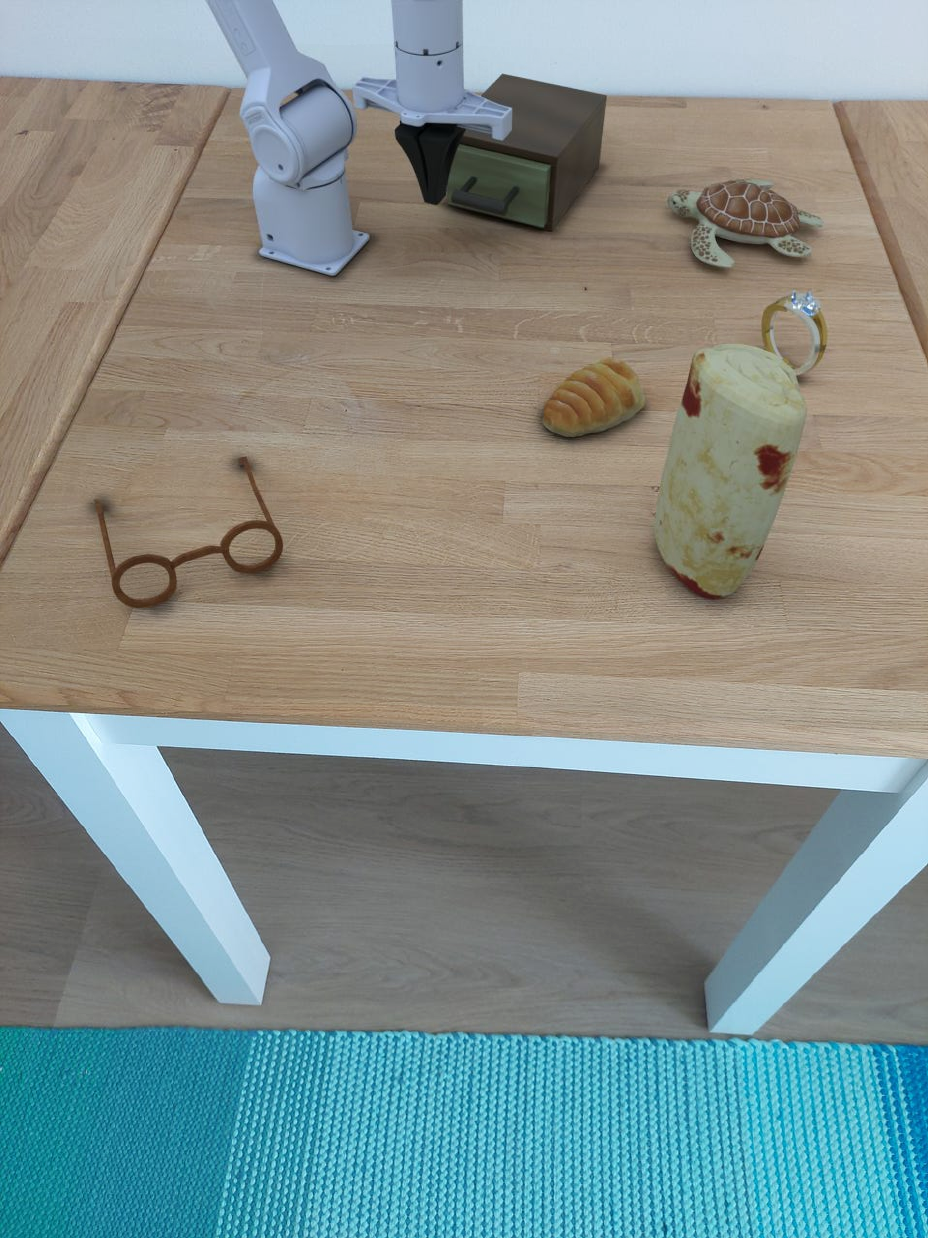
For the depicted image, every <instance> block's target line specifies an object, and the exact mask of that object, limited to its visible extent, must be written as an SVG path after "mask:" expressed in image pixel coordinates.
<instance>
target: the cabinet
mask: <svg viewBox="0 0 928 1238" xmlns="http://www.w3.org/2000/svg"><path fill="white" fill-rule="evenodd" d="M480 96H481V97H483V98H485V99H488V100H490V101H492V102H494V103H497V104H499V105H503V106H506V107H510V108H512V131H511V132H510V133H509V134H508V135H507V137H505V138H504V140H503V141H501V140H497V139H493V138H492V134H489V133H484V132H479V131H475V130H470V129H466V131H465V133H464V135H463V137H462V139H461V142H460V144H462V145H464V144H466V145H470V146H475V147H479V148H483V149H488V150H492V151H496V152H501V153H505V154H509V155H514V156H518V157H522V158H527V159H531V160H535V161H539V162H544V163H548V164H549V165H551V174H550V188H549V203H548V218H547V223H546V225H545V226H544V227H543V228H542V227H538V226H534V225H530V224H526V223H522V222H518V221H514V220H510V219H506V218H502V217H498V216H494V215H490V214H486V213H482V212H478V211H474V210H471V209H467V208H463V207H459V206H455V205H451V204H448V203H447V206H450V207H453V208H457V209H462V210H466V211H469V212H472V213H473V212H474V213H477V214H481V215H485V216H489V217H492V218H497V219H501V220H505V221H509V222H513V223H517V224H521V225H523V226H528V227H533V228H537V229H541V230H544V231H548V232H553V230H555V228H556V226H557V225H558V224H559V223H560V221H561V220H562V219H563V217H564V216H565V214H566V213H567V212H568V210H569V209H570V208H571V207H572V205H573V204H574V202H575V201H576V199H577V198H578V197H579V195H580V194H581V193H582V191H583V190H584V188H585V187H586V186H587V184H589V182H590V181H591V179H592V178H593V176H594V175H595V174H596V172H598V170H599V168H600V160H601V153H602V143H603V133H604V125H605V116H606V108H607V98H608V95H607V94H603V93H598V92H595V91H588V90H583V89H579V88H574V87H570V86H564V85H560V84H554V83H550V82H546V81H545V82H544V81H540V80H535V79H532V78H531V79H530V78H526V77H521V76H516V75H511V74H506V73H501V74H500V75H499V76H498V77H497V78H496V80H495V81H493V82H492V83H491V85H490V86H489V87H488V88H487V89H486V90H485V91H484V92H483V93H482V94H481V95H480Z"/></svg>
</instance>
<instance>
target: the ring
mask: <svg viewBox="0 0 928 1238" xmlns="http://www.w3.org/2000/svg"><path fill="white" fill-rule="evenodd" d="M812 294H813V293H812V291H811V290H810V291H807V292H806V293H798V290H796V289H793V290H792V293H791V294H788V295H785V296H781V298H778V299H777V300H776V301H775V302H773V303H771V304H769V305H767V306H766V307H765V308H764V309H763V312H762V316H761V325H760V326H761V327H760V329H761V330H760V331H761V337H762V342H763V347H764V350H766V351H768V352H771V353H774V354H775V355H777V356H778V357H779V358H780V359H781V360H783V361H784V362H785V363H786V364H787V365H789V366H790V367H791V368H792V369H793V370H794V372H795V375H796V377H797V376H800V375H801V376H802V375H804V374H806V373H809V372H810V371H812V370H813V369H815V368H816V367H817V366H818V364H819V363H820V362H821V360H822V359H823V356H824V355H825V351H826V349H827V344H828V326H827V322H826V319H825V317H824V314H823V313H822V311H821V309H822V303H821V301H820V300H819V299H818V297H816V296H814V295H812ZM779 312H784V313H787V312H789V313H791V314H792V315H794V316H795V317H796V318H798V319H799V320H800V321H801V322H802V323H803V324H804V325H805V327H806V328H807V330H808V333H809V336H810V351H809V355H808V358H807V360H806V361H805V363H804V364H803V365H802V366H794V365H793V364H791V363H790V360H789V359H788V358H786V357H783V356H782V355H781V353H780V352H779V350H778V348H777V344H776V341H775V336H774V324H775V319H776V316H777V314H778V313H779Z"/></svg>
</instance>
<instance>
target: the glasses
mask: <svg viewBox="0 0 928 1238" xmlns="http://www.w3.org/2000/svg"><path fill="white" fill-rule="evenodd" d="M237 463H238V466H243V468H244V470H245V473H246V475H247V478H248V482H249V483H250V486H251V489H252V492H253V494H254V496H255V498H256V500H257V502H258V505H259V507H260V509H261V511H262V514H263V516H264V518H265V520H262V519H254V520H247V521H244V522H241V523H239V524H237V525H235V526H233V527H232V528H230V529H229V530H228V531H227V532H226V534H225V535H224V536H223V537H222V538H221V540H220V542H219V543H220V545H205V546H202V547H199V548H195V549H193V550H189V551H186V552H184V553H180V554H179V555H177V556H176V557H175V558H173V559H172V560H170V559H169V558H168V557H167V556H166V557H165V556H162V555H159V554H154V553H152V554H151V553H143V554H137V555H135V556H132V557H129V558H127V559H125V560H124V561H122V562H120V563H119V564H118V565H117V566H116V564H115V559H114V555H113V551H112V547H111V542H110V538H109V533H108V528H107V523H106V519H105V515H104V510H103V506H102V502H101V501H100V499H94V500H93V502H94V505H95V508H96V512H97V518H98V523H99V528H100V533H101V537H102V538H101V539H102V542H103V546H104V550H105V555H106V560H107V564H108V569H109V573H110V578H111V580H110V581H111V588H112V591H113V593H114V595H115V597H116V598H117V600H119V601H120V602H121V603H122V604H123V605H125V606H127V607H130V608H133V609H147V608H152V607H155V606H159V605H160V604H162V603H164V602H166V601H167V600H169V599H170V598H172V596H173V595H174V594H175V592H176V590H177V586H178V578H177V573H176V568H178V567H180V565H182V564H184V563H188V562H191V561H194V560H197V559H201V558H204V557H207V556H211V555H216V554H217V555H219V554H222V557H223V558H224V560H225V562H226V564H227V565H228V566H229V567H230V569H232V570H233V571H234V572H237V573H238V574H239V573H240V574H246V575H247V574H255V573H259V572H260V573H261V572H264V571H265V570H267V569H269V568H270V567H273V566H274V565H275V564H276V563H277V562H278V561H279V560H280V558H281V556H282V554H283V551H284V539H283V537H282V535H281V532H280V531H279V529H278V528H277V527H276V525H275V523H274V520H273V518H272V516H271V514H270V512H269V510H268V508H267V505H266V503H265V501H264V499H263V497H262V494H261V493H260V489H259V488H258V485H257V483H256V480H255V477H254V475H253V472H252V468H251V466H250V462H249V459H248V458H247V456H241V457H239V458H237ZM255 529H258V530H260V529H261V530H265V531H266V532H269V533H270V535H272V536H273V538H274V549H273V552H272V554H271V555H270V556H269V557H267V558H266V559H265V560H263V561H261V562H258V563H255V564H246V565H245V564H241V563H239V562H237V561H236V560H235V559H234V558H233V557H232V555H231V552H230V546H231V544H232V542H233V541H234V539H235V538H236V537H238V536H239V535H241V534H242V533H244V532H246V531H250V530H255ZM142 564H155V565H158V566H160V567H162V568H164V569H165V570H166V572H167V574H168V585H167V587H166V588H165V589H164V591H162V592H160V593H159V594H158V595H156V596H154V597H153V596H152V597H150V598H145V599H137V598H132V597H130V596H129V595H127V594H126V593H125V592H124V591H123V589H122V588H121V587H122V586H121V579H122V576H123V575H124V574H125V572H127V571H128V570H129V569H131V568H133V567H135V566H138V565H142Z"/></svg>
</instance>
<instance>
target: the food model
mask: <svg viewBox="0 0 928 1238" xmlns="http://www.w3.org/2000/svg"><path fill="white" fill-rule="evenodd" d="M690 363H691V364H690V368H689V373H688V376H687V382H686V384H685V387H684V390H683V394H682V396H681V400H680V403H679V406H678V409H677V412H676V416H675V419H674V423H673V426H672V430H671V435H670V440H669V444H668V448H667V454H666V458H665V463H664V466H663V471H662V475H661V479H660V483H659V487H658V493H657V500H656V509H655V515H654V516H655V517H654V519H653V521H654V522H653V525H652V529H653V530H652V531H653V536H654V540H655V542H656V546H657V549H658V551H659V553H660V556H661V558H662V560H663V561H664V563H665V565H666V566H667V568H668V569H669V571H670V572H671V573H672V575H674V577H675V578H676V579H677V580H678V581H679V582H680V583H681V584H682V585H683V586H685V587H686V588H687V589H688V590H689V591H690V592H691V593H694V594H696V595H698V596H700V597H701V598H706V599H710V600H717V599H721V598H725V597H728V596H730V595H732V594H733V593H735V591H737V589H738V588H740V586H741V585H742V584H743V583H744V581H746V579H747V578H748V576H749V575H750V574H751V572H752V571H753V570H754V568H755V566H756V564H757V561H758V559H759V558H760V556H761V553H762V551H763V549H764V547H765V544H766V542H767V539H768V537H769V535H770V532H771V530H772V526H773V524H774V522H775V519H776V517H777V514H778V511H779V508H780V506H781V504H782V500H783V497H784V495H785V492H786V489H787V487H788V483H789V479H790V477H791V474H792V471H793V467H794V464H795V460H796V457H797V454H798V450H799V447H800V443H801V439H802V437H803V433H804V428H805V425H806V420H807V415H808V405H807V403H806V402H807V401H806V400H805V398H804V397H803V395H802V394H801V392H800V386H799V381H798V378H797V376H796V375H795V372H794V370H793V369H792V368H791V367H790V366H789V365H787V364H786V363H785V362H784V361H783V360H781V359H780V358H779V357H778V356H777V355H775V354H774V353H771V352H768V351H766V349H763V348H760V347H758V346H753V345H749V344H745V343H722V344H717V345H714V346H710V347H707V348H700V349H698V350H697V351H695V353H694V354H693V356H692V359H691V362H690Z"/></svg>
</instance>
